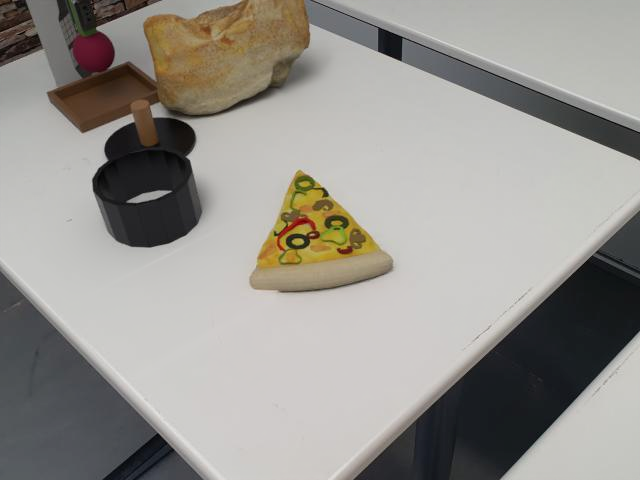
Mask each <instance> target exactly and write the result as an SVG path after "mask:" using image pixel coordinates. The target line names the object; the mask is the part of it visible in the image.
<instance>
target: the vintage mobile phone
mask: <svg viewBox="0 0 640 480" xmlns="http://www.w3.org/2000/svg"><path fill="white" fill-rule="evenodd" d="M25 2H26V5H27V8H28V11H29V13H30V16H31V19H32V21H33V24H34V27H35V30H36V33H37V35H38V38H39V40H40V43H41V46H42V49H43V52H44V54H45V57H46V59H47V63H48V65H49V67H50V71H51V72H52V76H53V78H54V79H53V80H54V81H55V84H56V87H57V88H59V87H62V86H64V85H67V84H70V83H72V82H75V81H78V80H80V79H83V78H86V77H88V76H91V75H94V74H96V73H93V72H89V71H86V70H85V69H83V68H82V67H81V66H80V65H79V64H78V63H77V62H76V60H75V58H74V55H73V43H74V40H75V38H76V37H77V35H79V33H78V30H77V27H76V24H74V23H73V22H72V20H71V17H70V14H69V11H68V8H67V5H66V2H65V0H25Z"/></svg>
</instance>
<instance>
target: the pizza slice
mask: <svg viewBox="0 0 640 480" xmlns="http://www.w3.org/2000/svg"><path fill="white" fill-rule="evenodd" d="M393 263H394V259H393V258H392V256H391V255H390V254H389V253H388V252H386V251H384V250H383V249H381V248H380V245H379V244H378V243H377V242H376V241H375V240H374V238H373V237H372V236H371V234H370V233H369V232H368V231H366V230H365V229H364V228H363V227H361V225H360V224H359V223H358V222H357V221H356V220H355V219H354V217H353V216H352V215H351V214H350V212H348V211H347V210H346V209H345V208H344V207H343V206H342V205H340V204H339V203H338V202H337V201H336V200H335V199H334V198H333V197H332V196H331V195H330V193H329V191H328V190H327V188H325V187H322V185H321V184H320V183H319V182H317V180H315V179H314V178H313V177H312V176H310V175H309V174H306V172H304V171H303V170H301V169H298V170H297V171H296V172H295V174H294V176H293V179H292V180H291V182H290V183H289V186H288V188H287V191H286V192H285V195H284V199H283V202H282V206H281V209H280V211H279V213H278V215H277V218H276V221H275V224H274V225H273V227H272V228H271V230H270V232H269V234H268V236H267V238H266V240H265V241H264V242H263V244H262V246H261V248H260V250H259V253H258V256H257V257H256V266H255V268H254V270H252V273H251V274H250V276H249V285H250V287H251V288H252V289H254V290H258V291H277V292H301V291H313V290H323V289H330V288H337V287H340V286H345V285H348V284H352V283H356V282H360V281H364V280H368V279H372V278H374V277H378V276H381V275H383V274H386V273H387V272H388V271H390V270H392V268H393V265H394V264H393Z"/></svg>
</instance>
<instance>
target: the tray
mask: <svg viewBox="0 0 640 480" xmlns="http://www.w3.org/2000/svg"><path fill="white" fill-rule="evenodd" d="M46 95H47V98H48V100H49V102H50V104H52V106H53V107H55V109H57V111H59V112H60V113H61V114H62V115H63V116H64V117H65V118H66V119H67V120H68V121H69V122H70V123H71V124H72V125H73V126H74V127H75V128H76V129H77V130H78V131H79V132H80V133H81V134H85V133H88V132H90V131H92V130H95V129H98V128H100V127H102V126H105V125H107V124H109V123H112V122H115V121H117V120H119V119H122V118H124V117H127V116H129V115H133V114H132V111H131V107H130V105H131V103H133V102H134V101H137V100H147V101H148V102H149V105H150V107H151V106H154V105H156V104H158V103H161V102H160V99H159V96H158V91H157V81H156V79H153V77H151V76H149V75H148V74H147V73H146V72H144V71H143V70H142V69H141V68H139V67H138V66H136V65H135V64H134V63H133V62H132V61H130V60H129V61H126V62H123V63H120V64H118V65H115V66H113V67H109V68H108V69H107V70H105V71H103V72H100V73H96V74H94V75H91V76H88V77H86V78H83V79H80V80H78V81H75V82H72V83H70V84H67V85H64V86H62V87H57V88H54V89H51V90H49V91H46Z"/></svg>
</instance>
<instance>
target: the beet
mask: <svg viewBox="0 0 640 480" xmlns="http://www.w3.org/2000/svg"><path fill="white" fill-rule="evenodd" d="M68 2H69V5H70V8H71V11H72V14H73V17H74V21H75V27H76V30H77V33H78V35H77V37H76V38H75V40H74V43H73V55H74V58H75V60H76V62H77V63H78V64H79V65H80V66H81V67H82V68H83V69H85V70H86V71H89V72H93V73H100V72H103V71H105V70H107V69H110V68H111V66H112V65H113V64H114V61H115V58H116V57H115V56H116V49H115V46H114V43H113V41H112V39H110V37H109V36H108V35H107V34H105V33H104V32H102V31H100V30H98V29H97V27H96V28H93V29H90V30H88V31H83V30H82V29H81V28H80V26H79V23H78V20H77V17H76V14H75V11H74V8H73V5H72V1H71V0H68Z"/></svg>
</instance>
